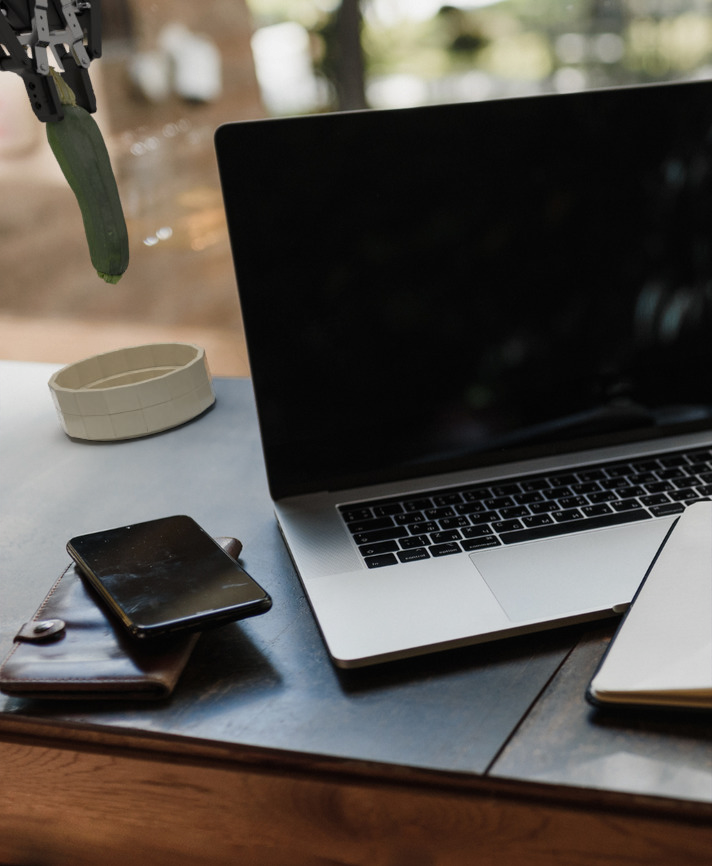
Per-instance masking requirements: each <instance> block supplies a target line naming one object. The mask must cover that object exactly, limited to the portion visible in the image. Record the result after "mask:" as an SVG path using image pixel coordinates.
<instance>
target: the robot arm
mask: <svg viewBox="0 0 712 866" xmlns="http://www.w3.org/2000/svg"><path fill="white" fill-rule="evenodd" d="M101 4H102V3H101V0H0V72H3V73H5V72H10V73H13V74H15V75H17V77H19V78H21V79H22V81H23V85H24V88H25V90H26V94H27V97H28V100H29V103H30V107H31V111H32V112H33V114H34V115H35V117H36V118H37V120H38V121H39V122H40V123H44V124H46V122H57V121H62V120H63V119H64V112H63V109H62V106H61V102H60V99H59V96H58V92H57V89H56V86H55V82H54V79H53V76H52V75H50V76H47V74H48V73H49V66H50V64H49V57H48V52H47V48H48V47H49V50H50V51H51V53H52V55H53V58H54V60H55V62H56V64H57V66H58V68H59V70H62V71H60V72H59V73H60V76H61V77H62V78H63V80H64V82H65V83H66V84H67V85H68V87H69V88H70V89H71V90H72V91H73V93H74V95H75V101H76V103H75V104H76V105H77V106H80V107H82V108H83V109H85V110H86V111H87V112H88V113H89V114H90V115H92V114H93V115H94V114H96V113H97V111H98V107H97V98H96V94H95V91H94V88H93V87H94V86H93V84H92V80H91V76H90V72H89V68H90V67H91V63H92V62H93V61H94V60H97V59H101V58H102V56H103V45H102V43H103V41H102V39H103V38H102V14H101V13H102V7H101ZM85 35H86V38H87V39H86V41H87V43H86V44H84V36H85ZM65 44H66V45H67V46H68V51H67V48H66V47H65V46H66V45H65ZM3 46H4V47H3ZM29 48H30V52H31V53H30V54H31V57H29V54H28V49H29ZM5 49H6V51H7V53H8V54H7V53H6V51H5Z"/></svg>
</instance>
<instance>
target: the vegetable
mask: <svg viewBox="0 0 712 866" xmlns="http://www.w3.org/2000/svg"><path fill="white" fill-rule="evenodd" d="M55 69H56V67H55V66H52V65H49V73H48V74H47V76H50V75H52V76H53V79H54V82H55V86H56V89H57V92H58V96H59V99H60V102H61V106H62V109H63V112H64V119H63V120H62V121H57V122H46V123H45V135H46V139H47V143H48V145H49V148H50V149H51V151H52V155H53V156H54V158H55V160H56V162H57V164H58V166H59V168H60V171H61V173H62V175H63V176H64V178H65V181H66V182H67V184H68V186H69V187H70V189H71V191H72V192H73V194H74V197H75V199H76V201H77V203H78V207H79V210H80V214H81V218H82V224H83V229H84V233H85V238H86V242H87V246H88V252H89V258H90V262H91V265H92V267H93V268H94V270H96V275H97V276H98V278H100V279H102V280H103V281H104V283H106V284H111V285H117V284H118V283H119V281H120V280H121V279H122V278H123V275H124V274H125V272H126V271H127V270H128V267H129V263H130V244H129V243H130V242H129V233H128V227H127V223H126V218H125V214H124V210H123V205H122V201H121V198H120V197H121V196H120V192H119V188H118V184H117V181H116V177H115V175H114V170H113V167H112V162H111V158H110V154H109V151H108V148H107V145H106V143H105V142H106V141H105V139H104V136H103V134H102V131H101V129H100V127H99V124H98V123H97V121H96V120H95V118H94V116H93V115H92V114H89V113H88V112H87V111H86V110H85V109H83V108H82V107H80V106H77V105H76V104H75V103H76V101H75V95H74V93H73V91H72V90H71V89H70V88H69V87H68V85H67V84H66V83H65V82H64V80H63V78H62V77H61V76H60V72H59V71H56V70H55Z"/></svg>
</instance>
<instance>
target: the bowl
mask: <svg viewBox="0 0 712 866" xmlns="http://www.w3.org/2000/svg"><path fill="white" fill-rule="evenodd" d="M209 365H210V364H209V361H208V357H207V354H206V349H205V348H203V347H202V346H200V345H199V344H197V343H194V342H192V343H191V342H184V341H162V342H149V343H142V344H137V345H136V344H135V345H131V346H125V347H119V348H115V349H111V350H107V351H104V352H100V353H96V354H94V355H90V356H88V357H84V358H82V359H80V360H77V361H73V362H71V363H69V364H67V365H66V366H64V367H62V368H61V369H58V370H57V371H56V372H54V373H53V374H52V375H51V377H50V378H49V380H48V381H47V387H48V390H49V392H50V395H51V399H52V401H53V404H54V407H55V410H56V413H57V417H58V419H59V422H60V426H61V429H62V430H63V431H64V432H65V433H66V434H67V435H68V436H69V437H72V438H78V439H83V440H88V441H97V442H99V441H100V442H111V441H123V440H129V439H137V438H140V437H146V436H150V435H153V434H158V433H160V432H164V431H167V430H170V429H172V428H175V427H178V426H180V425H183V424H184V423H187V422H188V421H191V420H192V419H194V418H197V417H198V416H199V415H200V414H201V413H203V412H204V411H206V410H207V408H209V407H210V406H211V405H213V404H214V403H215V401H216V394H217V393H216V389H215V384H214V381H213V376H212V374H211V370H210V366H209Z"/></svg>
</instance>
